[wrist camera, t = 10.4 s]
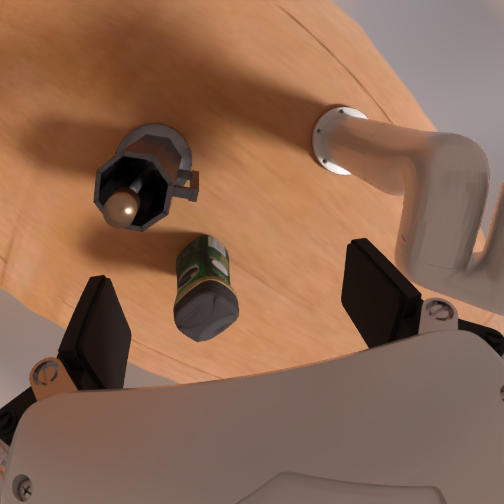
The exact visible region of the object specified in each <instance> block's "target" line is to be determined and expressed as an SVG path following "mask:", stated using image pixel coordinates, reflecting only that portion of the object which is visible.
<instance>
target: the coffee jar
mask: <svg viewBox="0 0 504 504" xmlns="http://www.w3.org/2000/svg"><path fill="white" fill-rule="evenodd" d="M176 273H177V297H176V300H175V304H174V309H173V312H174V321H175V324H176V326H177V328H178V329H179V330H180V331H181V332H182V333H183V334H185V335H186V336H188V337H189V338H191V339H193V340H194V341H196V342H200V341H206V340H209V339H212V338H214V337H215V336H217V335H218V334H220V333H221V332H223V331H224V330H225V329H226V328H228V327H229V326H230V325H231V324H232V323H234V322H235V321H236V320H237V318H238V316H239V307H238V297H237V295H236V293H235V291H234V290H233V289H232V287H231V286H230V275H229V257H228V252H227V250H226V249H225V247H224V246H223V245H222V244H221V243H220V242H219V241H217V240H216V239H215V238H213V237H210V236H202V237H199V238H198V239H196V240H195V241H193V242H192V243H191V244H190V245H188V246H187V247H186V248H185V249H184V250H183V251H182V253H181V254H180V255H179V256H178V258H177V261H176Z"/></svg>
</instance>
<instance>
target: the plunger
mask: <svg viewBox="0 0 504 504" xmlns="http://www.w3.org/2000/svg"><path fill="white" fill-rule="evenodd" d="M130 168H131V172H132V174H133V176H134V177H135V180H134V182H133V183H132V184H131V186H130V187H129V188H127V187H123V188H119V189H117V190H116V191H115V192H114V193H113V194H112V196H111V197H110V198H109V199H108V200H107V202H106V203H105V205H104V207H103V216H104V219H105V221H106V222H107V223H108V224H109V225H110V226H112V227H114V228H119V229H120V228H125V227H127V226H129V225H130V224H131V223H132V221H133V219H134V217H135V215H136V213H137V211H138V209H139V207H140V198H139V196H138V194H137V193H138V191H139V190H140V188H141V187H142V185H143V184H144V185H148V186H155V185H159V184H161V183H163V182H164V181H166V180H165V179H164V177H163V176H162V175H161V173H160V172H159V170H158V169H157V167H156V166H155V164H154V163H153V162H152V161H151V160H145V159H139V158H133V157H131V161H130Z"/></svg>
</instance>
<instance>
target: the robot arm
mask: <svg viewBox="0 0 504 504" xmlns="http://www.w3.org/2000/svg"><path fill="white" fill-rule="evenodd" d="M339 110H340V113H339ZM317 130H319V132H317ZM312 147H313V152H314V154H315V157H316V158H317V160H318V161H319V163H320V164H321V165H322V166H323V167H324V168H326V169H327V170H329V171H331V172H333V173H336V174H340V175H348V174H353V175H355V176H357V177H359V178H360V179H362V180H364V181H365V182H367V183H369V184H371V185H372V186H374V187H376V188H377V189H379V190H381V191H382V192H384V193H387V194H389V195H394V196H403V195H404V201H403V210H402V216H401V221H400V226H399V231H398V236H397V242H396V247H395V263H396V266H397V268H398V269H397V268H396V267H395V266H394V265H393V264H392V263H391V262H390V261H389V260H388V259H387V258H386V257H385V256H384V255H383V254H382V253H381V252H380V251H379V250H378V249H377V248H376V247H375V246H374V245H373V244H372V243H371V242H370V241H369V240H368V239H366V238H361V239H354V240H352V241H351V243H350V244H348V245H347V251H346V261H345V270H344V279H343V287H342V295H341V301H342V305H343V307H344V308H345V310H346V312H347V313H348V315H349V316H350V318H351V320H352V321H353V323H354V324H355V326H356V328H357V329H358V331H359V333H360V334H361V336H362V338H363V339H364V341H365V342H366V344H367V346H368V347H369V349H365V350H362V351H358V352H354V353H351V354H347V355H343V356H339V357H335V358H331V359H327V360H323V361H318V362H314V363H310V364H305V365H300V366H296V367H291V368H286V369H281V370H276V371H270V372H265V373H259V374H253V375H247V376H241V377H235V378H228V379H221V380H213V381H205V382H197V383H188V384H178V385H167V386H155V387H140V388H123V385H124V378H125V371H126V365H127V359H128V354H129V348H130V343H131V330H130V328H129V325H128V323H127V320H126V318H125V316H124V313H123V311H122V308H121V306H120V303H119V301H118V298H117V295H116V293H115V290H114V287H113V285H112V282H111V280H110V278H106V277H105V276H104V275H100V276H93V277H90V279H89V281H88V283H87V285H86V287H85V289H84V291H83V293H82V295H81V297H80V300H79V302H78V304H77V306H76V308H75V311H74V313H73V315H72V318H71V320H70V322H69V325H68V327H67V329H66V332H65V334H64V337H63V339H62V342H61V344H60V347H59V350H58V352H59V353H58V355H57V358H54V357H49V358H45V359H43V360H41V361H39V362H38V363H37V364H36V365H35V366H34V367H33V368H32V370H31V372H30V376H29V380H30V384H31V387H29V388H28V389H27V390H25V391H24V392H22V393H21V394H20V395H18V396H17V397H16V398H14V399H13V400H12V401H10V402H9V403H8V404H6V405H5V406H4V407H2V408H1V409H0V504H504V337H503V335H502V334H501V333H500V332H498V331H497V330H494V329H492V328H489V327H485V326H482V325H478V324H475V323H472V322H468V321H465V320H461V319H458V313H457V310H456V308H455V307H454V306H453V305H452V304H451V303H450V302H448V301H447V300H444V299H441V298H429V299H427V300H425V301H423V300H422V299H421V295H422V294H421V293H420V292H419V291H418V290H417V289H416V288H415V287H414V286H413V285H412V284H411V283H410V281H411V282H413V283H415V284H417V285H419V286H421V287H424V288H426V289H429V290H431V291H434V292H437V293H440V294H442V295H445V296H448V297H451V298H454V299H456V300H459V301H462V302H465V303H467V304H470V305H473V306H476V307H478V308H481V309H484V310H486V311H489V312H492V313H495V314H498V315H502V316H504V181H503V183H502V185H501V188H500V192H499V195H498V199H497V202H496V206H495V211H494V214H493V218H492V222H491V226H490V229H489V233H488V236H487V240H486V243H485V246H484V249H483V251H482V252H478V253H477V252H472V251H473V248H474V245H475V241H476V238H477V235H478V231H479V229H480V225H481V221H482V218H483V213H484V209H485V205H486V200H487V196H488V190H489V181H490V169H489V163H488V159H487V156H486V154H485V152H484V150H483V149H482V148H481V147H480V145H479V144H478V143H476V142H475V141H473V140H472V139H470V138H468V137H465V136H462V135H459V134H454V133H447V132H430V131H421V130H415V129H410V128H405V127H401V126H397V125H393V124H388V123H384V122H379V121H375V120H370V119H368V118H367V116H366V115H364V114H363V113H362V112H360V111H359V110H357V109H354V108H351V107H336V108H333V109H331V110H328V111H327V112H326V113H324V114H323V115H322V116H321V117H320V118H319V120H318V121H317V123H316V124H315V127H314V130H313V134H312ZM323 159H324V161H323ZM409 280H410V281H409Z"/></svg>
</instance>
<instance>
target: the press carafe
mask: <svg viewBox="0 0 504 504" xmlns="http://www.w3.org/2000/svg"><path fill="white" fill-rule="evenodd" d="M131 157H133V158H139V159H145V160H151V161H152V162H153V163H154V164H155V166H156V167H157V169H158V170H159V172H160V173H161V175H162V176H163V177H164V179H165V180H166V181H164V182H163V183H161V184H159V185H155V186H148V185H144V184H143V185H142V187H141V188H140V190H139V191H138V193H137V194H138V196H139V198H140V207H139V209H138V211H137V213H136V215H135V217H134V219H133V221H132V223H131V224H130V225H129V226H127V227H125V228H124V229H130V230H136V231H141V232H143V231H144V230H146V229H147V228H149V227H150V226H152V225H153V224H155V223H156V222H158V221H159V220H161V219H162V218H164V217H165V216H167V215H168V214H169V209H170V205H171V201H172V197H173V196H174V197H180V198H185V199H188V201H193V202H196V201H197V196H198V192H199V171H194V170H193V171H191V166H192V155H191V151H190V148H189V145H188V143H187V141H186V140H185V139H184V137H183V136H182V135H181V134H180V133H179V132H178V131H176V130H175V129H173V128H171V127H169V126H166V125H162V124H148V125H144V126H141V127H139V128H136V129H135V130H133V131H131V132H130V133H129V134H128V135H127V136H126V137H125V138H124V139H123V140H122V142H121V143H120V145H119V147H118V149H117V152H116V155H115V156H114V157H113V158H112V159H110V160H109V161H108V162H107V163H105V164H104V165H103V166H102V167H100V168H99V169H98V170H97V172H96V181H95V191H94V201H93V202H94V203H95V205H96V206H97V207H98V208H99V210H100V211H101V212H102V214H103V207H104V205H105V203H106V202H107V200H108V199H109V198H110V197H111V196H112V194H113V193H114V192H115V191H116V190H117V189H119V188H123V187H127V188H129V187H130V186H131V184H132V183H133V182H134V180H135V177H134V176H133V174H132V172H131V168H130V161H131ZM187 180H190V187H184V184H185V183H186V181H187Z"/></svg>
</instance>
